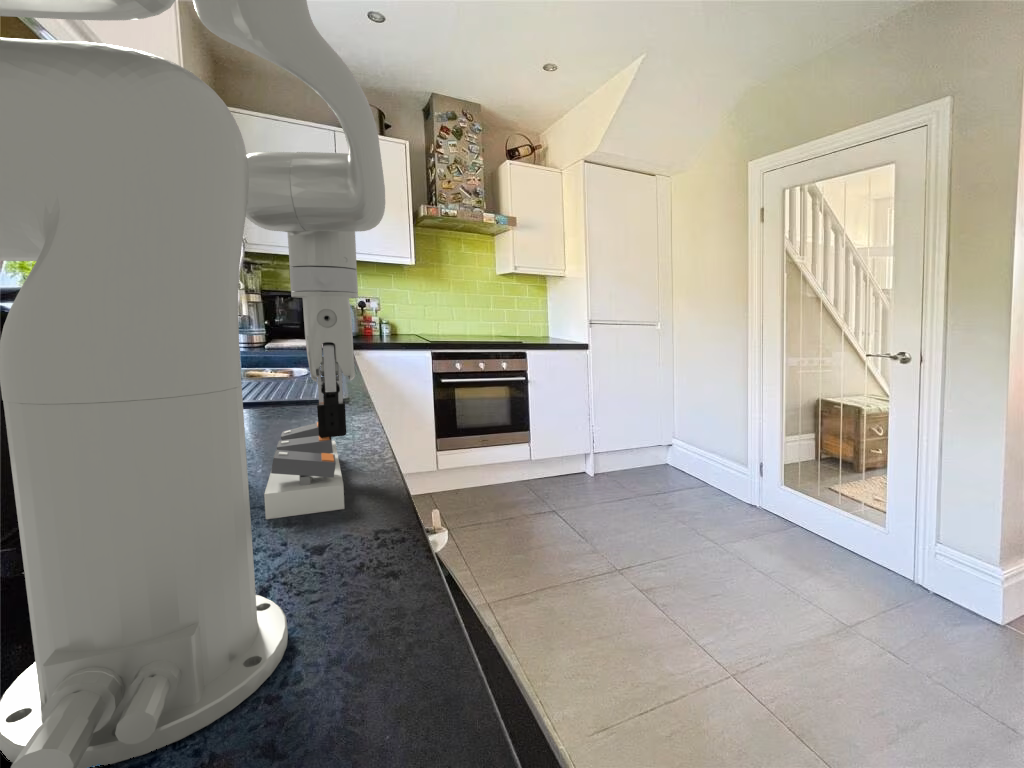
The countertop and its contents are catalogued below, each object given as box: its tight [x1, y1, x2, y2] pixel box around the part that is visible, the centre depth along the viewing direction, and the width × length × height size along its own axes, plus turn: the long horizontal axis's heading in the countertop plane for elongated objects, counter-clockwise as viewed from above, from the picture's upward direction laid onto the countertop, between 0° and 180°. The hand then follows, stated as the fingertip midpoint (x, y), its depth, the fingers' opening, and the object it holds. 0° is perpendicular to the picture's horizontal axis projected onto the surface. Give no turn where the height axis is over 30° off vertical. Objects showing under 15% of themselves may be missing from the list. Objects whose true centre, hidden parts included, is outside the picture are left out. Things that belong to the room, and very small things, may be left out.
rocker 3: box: [270, 449, 336, 478], centre depth 52 cm, size 4×6×2 cm, turn 112°
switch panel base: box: [264, 439, 345, 520], centre depth 60 cm, size 22×7×4 cm, turn 22°
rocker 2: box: [276, 436, 333, 453], centre depth 59 cm, size 4×6×2 cm, turn 112°
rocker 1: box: [280, 421, 319, 440], centre depth 67 cm, size 4×6×2 cm, turn 112°
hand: (332, 434), depth 61 cm, fingers closed
